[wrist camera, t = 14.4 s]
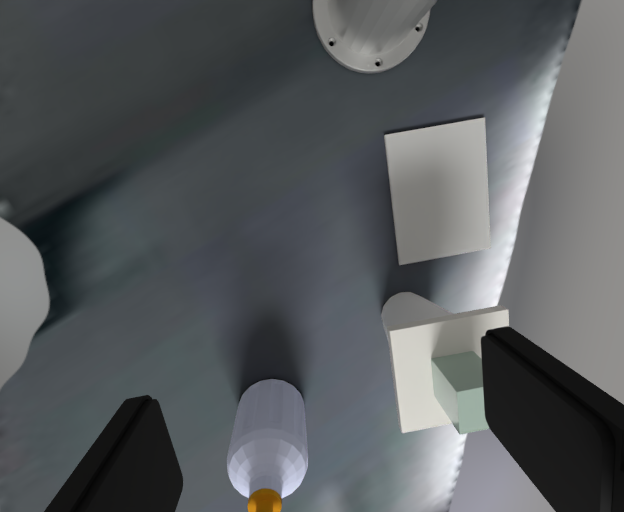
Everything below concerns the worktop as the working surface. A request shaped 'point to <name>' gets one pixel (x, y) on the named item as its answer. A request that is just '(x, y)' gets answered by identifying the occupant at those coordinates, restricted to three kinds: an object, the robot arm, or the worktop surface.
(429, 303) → the foam cup
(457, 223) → the mat
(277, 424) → the soap bottle
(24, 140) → the worktop surface
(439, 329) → the lid
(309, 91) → the worktop surface
